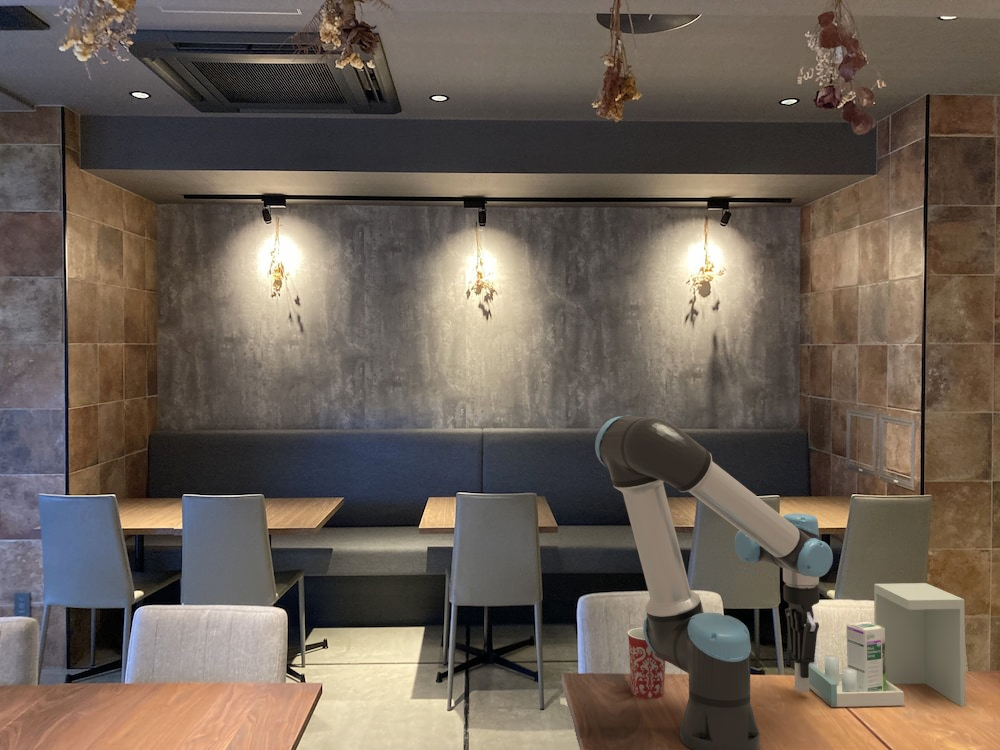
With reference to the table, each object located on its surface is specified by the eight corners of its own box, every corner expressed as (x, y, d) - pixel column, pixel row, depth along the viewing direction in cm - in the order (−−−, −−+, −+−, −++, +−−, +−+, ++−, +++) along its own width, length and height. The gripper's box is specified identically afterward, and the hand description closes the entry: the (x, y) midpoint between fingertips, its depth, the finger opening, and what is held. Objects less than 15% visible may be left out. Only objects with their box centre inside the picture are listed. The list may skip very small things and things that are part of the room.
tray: (831, 706, 181) (831, 674, 181) (806, 685, 194) (806, 654, 194) (904, 705, 182) (903, 672, 182) (874, 683, 195) (874, 653, 195)
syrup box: (866, 696, 184) (865, 629, 184) (846, 687, 190) (846, 622, 190) (886, 692, 186) (886, 627, 186) (866, 683, 192) (865, 620, 192)
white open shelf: (909, 707, 181) (908, 600, 181) (874, 682, 196) (874, 583, 196) (965, 706, 182) (964, 599, 182) (926, 681, 197) (925, 583, 197)
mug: (671, 700, 185) (670, 639, 186) (629, 700, 186) (629, 638, 186) (663, 680, 198) (662, 623, 198) (624, 679, 198) (624, 622, 199)
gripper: (830, 591, 181) (831, 701, 181) (805, 577, 194) (806, 679, 194) (796, 591, 181) (797, 702, 180) (773, 577, 194) (774, 680, 194)
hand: (802, 690), depth 187 cm, fingers closed
